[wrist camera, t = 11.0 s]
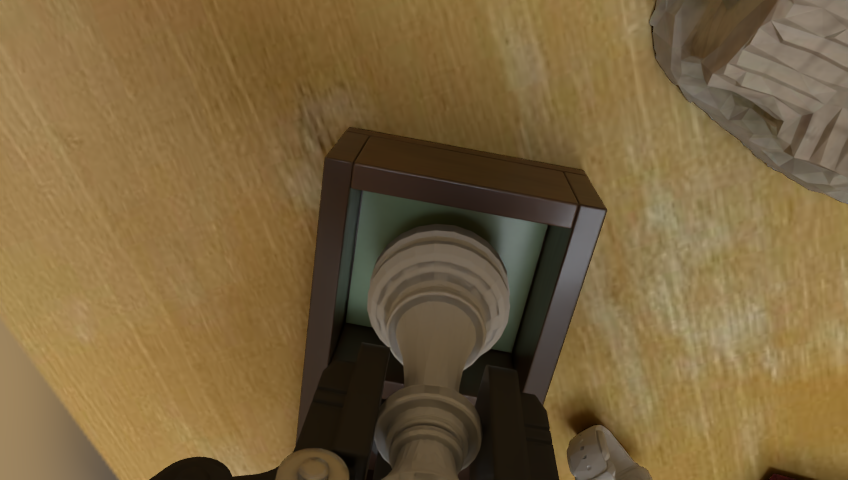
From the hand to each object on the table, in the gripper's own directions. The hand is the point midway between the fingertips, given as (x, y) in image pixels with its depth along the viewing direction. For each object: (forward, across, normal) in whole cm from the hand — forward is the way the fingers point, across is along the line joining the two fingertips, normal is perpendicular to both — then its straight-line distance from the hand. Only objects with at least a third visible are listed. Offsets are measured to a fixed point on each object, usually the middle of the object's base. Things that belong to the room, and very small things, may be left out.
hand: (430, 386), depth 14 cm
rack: (+8, 0, +7) cm, 11 cm away
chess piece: (+5, 0, 0) cm, 5 cm away
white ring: (+8, -8, +7) cm, 13 cm away
